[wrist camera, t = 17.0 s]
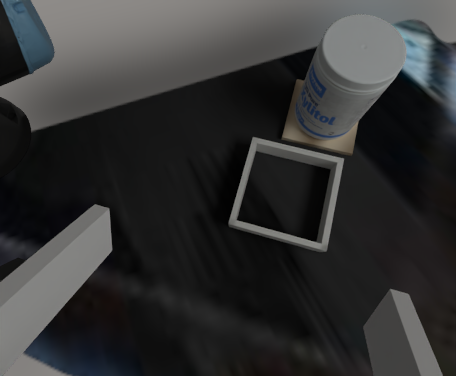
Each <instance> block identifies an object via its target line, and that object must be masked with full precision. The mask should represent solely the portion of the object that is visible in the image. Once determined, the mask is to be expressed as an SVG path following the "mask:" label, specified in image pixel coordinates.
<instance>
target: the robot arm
mask: <svg viewBox="0 0 456 376" xmlns="http://www.w3.org/2000/svg"><path fill="white" fill-rule="evenodd" d="M53 57H54V47H53V44H52V41H51V39H50V37H49V35H48V32H47V30H46V29H45V26H44V24H43V23H42V21H41V19H40V17H39V15H38V13H37V11H36V9H35V7H34V6H33V4H32V2H31V0H0V86H2V85H4V84H7V83H9V82H12V81H14V80H16V79H19V78H21V77H24V76H26V75H28V74H32V73H33V72H34V71H35V70H37V69H39V68H40V67H42V66H44V65H46V64H48V63H50V62H51V61H52V59H53ZM30 139H31V127H30V123H29V120H28V118H27V116H26V115H25V114H24V112H23V111H22V110H21V109H19V108H18V107H16V106H15V105H14V104H12V103H11V102H9V101H7V100H6V99H4V98H1V97H0V178H1V177H3V176H5V175H6V174H8V173H9V172H10V171H11V170H13V169H14V168H15V167H16V166H17V165H18V163H19V162H20V161H21V160H22V158H23V157H24V155H25V153H26V151H27V149H28V147H29V143H30ZM111 251H112V241H111V227H110V212H109V208H106V207H102V206H99V205H93V206H92V207H91V208H90V209H89V210H87V211H86V212H85V213H84V214H82V215H81V216H80V217H79V218H78V219H76V220H75V221H74V222H73V223H72V224H70V225H69V226H68V227H67V228H65V229H64V230H63V231H62V232H61V233H59V234H58V235H57V236H56V237H54V238H53V239H52V240H51V241H50V242H48V243H47V244H46V245H45V246H44V247H42V248H41V249H40V250H39V251H37V252H36V253H35V254H34V255H33V256H31V257H30V258H29V259H28V260H27V261H26V260H23V259H20V258H17V259H14V260H12V261H10V262H8V263H6V264H4V265H2V266H0V376H3V375H4V374H5V372H6V371H7V370H8V369H9V368H10V367H11V365H12V364H13V363H14V362H15V361H16V360H17V359H18V357H19V356H20V355H21V354H22V353H23V352H24V351H25V350H26V348H27V347H28V346H29V345H30V344H31V343H32V342H33V340H34V339H35V338H36V337H37V336H38V335H39V334H40V332H41V331H42V330H43V329H44V328H45V327H46V326H47V324H48V323H49V322H50V321H51V320H52V319H53V318H54V316H55V315H56V314H57V313H58V312H59V311H60V310H61V308H62V307H63V306H64V305H65V304H66V303H67V301H68V300H69V299H70V298H71V297H72V296H73V295H74V293H75V292H76V291H77V290H78V289H79V288H80V287H81V285H82V284H83V283H84V282H85V281H86V280H87V279H88V277H89V276H90V275H91V274H92V273H93V272H94V271H95V269H96V268H97V267H98V266H99V265H100V264H101V263H102V261H103V260H104V259H105V258H106V257H107V256H108V255H109V253H110V252H111ZM363 328H364V332H365V337H366V342H367V346H368V351H369V355H370V360H371V365H372V369H373V374H374V376H443V375H442V373H441V370H440V368H439V365H438V363H437V361H436V358H435V356H434V354H433V351H432V349H431V346H430V344H429V342H428V339H427V337H426V335H425V332H424V330H423V327H422V325H421V323H420V320H419V318H418V315H417V313H416V311H415V308H414V306H413V304H412V301H411V299H410V296H409V294H406V293H403V292H399V291H396V290H392V289H390V290H389V291H388V293H387V294H386V295H385V297H384V298H383V300H382V301H381V302H380V304H379V305H378V307H377V308H376V310H375V311H374V312H373V314H372V315H371V317H370V318H369V320H368V321H367V322H366V324H365V325H364V327H363Z"/></svg>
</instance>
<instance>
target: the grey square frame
mask: <svg viewBox="0 0 456 376" xmlns="http://www.w3.org/2000/svg"><path fill="white" fill-rule="evenodd" d="M256 151H258V152H262V153H266V154H270V155H274V156H278V157H283V158H287V159H291V160H295V161H299V162H303V163H307V164H311V165H315V166H319V167H323V168H327V169H331V171H330V176H329V181H328V186H327V191H326V196H325V201H324V206H323V211H322V216H321V221H320V226H319V231H318V236H317V241H316V242H313V241H310V240H306V239H303V238H299V237H295V236H292V235H288V234H285V233H281V232H277V231H274V230H270V229H266V228H263V227H259V226H256V225H252V224H248V223H245V222H241V221H237V217H238V213H239V209H240V206H241V202H242V199H243V195H244V191H245V188H246V184H247V181H248V177H249V173H250V170H251V166H252V163H253V159H254V155H255V152H256ZM343 161H344V159H342V158H338V157H334V156H330V155H326V154H322V153H317V152H313V151H309V150H305V149H301V148H297V147H292V146H288V145H284V144H280V143H276V142H272V141H267V140H263V139H259V138H255V137H253V139H252V142H251V146H250V149H249V153H248V156H247V160H246V163H245V167H244V170H243V174H242V178H241V181H240V185H239V188H238V192H237V195H236V199H235V202H234V206H233V209H232V213H231V216H230V220H229V223H228V225H229V227H232V228H235V229H239V230H243V231H246V232H250V233H253V234H257V235H260V236H264V237H268V238H271V239H275V240H278V241H282V242H285V243H289V244H293V245H296V246H300V247H303V248H307V249H311V250H314V251H318V252H325V251H327V246H328V241H329V235H330V230H331V225H332V220H333V214H334V209H335V204H336V198H337V193H338V188H339V183H340V177H341V172H342V167H343Z"/></svg>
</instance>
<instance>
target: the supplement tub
mask: <svg viewBox="0 0 456 376" xmlns="http://www.w3.org/2000/svg"><path fill="white" fill-rule="evenodd" d="M405 59H406V46H405V42H404V40H403V38H402V36H401V34H400V33H399V32H398V31H397V30H396V29H395V28H394V27H393V26H392V25H391V24H389V23H388V22H386V21H384V20H382V19H380V18H378V17H374V16H370V15H361V14H360V15H351V16H346V17H343V18H341V19H339V20H337V21H336V22H334V23H333V24H332V25H331V26H330V27H329V28H328V29H327V30H326V32H325V34H324V36H323V38H322V39H321V41H320V43H319V45H318V47H317V49H316V52H315V54H314V57H313V60H312V62H311V65H310V67H309V70H308V73H307V75H306V78H305V81H304V83H303V86H302V88H301V91H300V94H299V96H298V99H297V102H296V105H295V118H296V121H297V123H298V125H299V127H300V128H301V129H302V130H303V131H304V132H305V133H306V134H308V135H309V136H311V137H314V138H317V139H321V140H334V139H337V138H340V137H342V136H344V135H345V134H346V133H348V132H349V131H350V130H351V128H352V127H353V126H354V125H355V124H356V123H357V122H358V120H359V119H360V118H361V117H362V116H363V115H364V114H365V112H366V111H367V110H368V109H369V108H370V107H371V106H372V104H373V103H374V102H375V101H376V100H377V99H378V98H379V96H380V95H381V94H382V93H383V92H384V91H385V90H386V88H387V87H388V86H389V85H390V84H391V82H392V81H393V80H394V79H395V78H396V76H397V74H398V73H399V71H400V70H401V68H402V67H403V65H404V63H405Z"/></svg>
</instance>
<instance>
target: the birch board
mask: <svg viewBox="0 0 456 376" xmlns="http://www.w3.org/2000/svg"><path fill="white" fill-rule="evenodd" d="M303 83H304V81H303V80H298V79H297V81H296V84H295V88H294V92H293V96H292V100H291V104H290V108H289V112H288V116H287V120H286V123H285V127H284V131H283V135H282V140H286V141H290V142H295V143H299V144H303V145H307V146H311V147H316V148H320V149H324V150H328V151H332V152H337V153H341V154H345V155H349V156H351V155H352V153H353V147H354V142H355V136H356V131H357V125H358V122H357V123H356V124H355V125H354V126H353V127H352V128H351V130H350V131H349V132H348V133H346V134H345V135H344V136H342V137H340V138H337V139H334V140H321V139H317V138H314V137H311V136H309V135H308V134H306V133H305V132H304V131H303V130H302V129H301V128H300V127H299V125H298V123H297V121H296V118H295V105H296V102H297V99H298V96H299V94H300V91H301V88H302V86H303Z"/></svg>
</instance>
